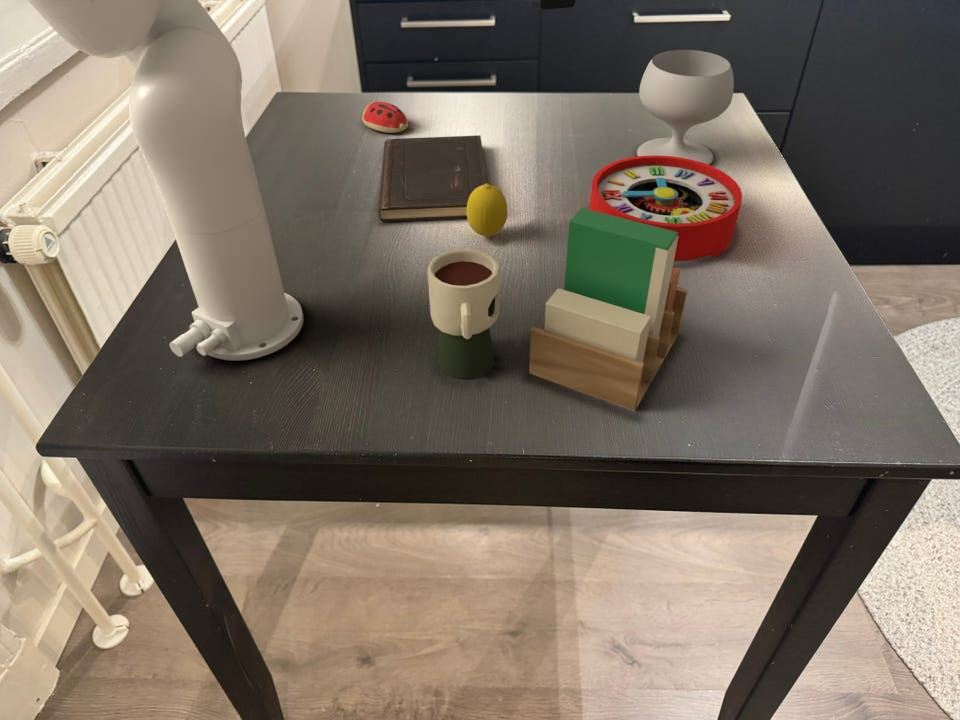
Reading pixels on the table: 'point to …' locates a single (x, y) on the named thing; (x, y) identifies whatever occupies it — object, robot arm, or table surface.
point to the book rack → (604, 361)
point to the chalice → (685, 98)
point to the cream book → (597, 324)
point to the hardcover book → (430, 177)
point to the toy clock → (672, 200)
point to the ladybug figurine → (384, 117)
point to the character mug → (464, 310)
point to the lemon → (486, 210)
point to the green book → (620, 263)
